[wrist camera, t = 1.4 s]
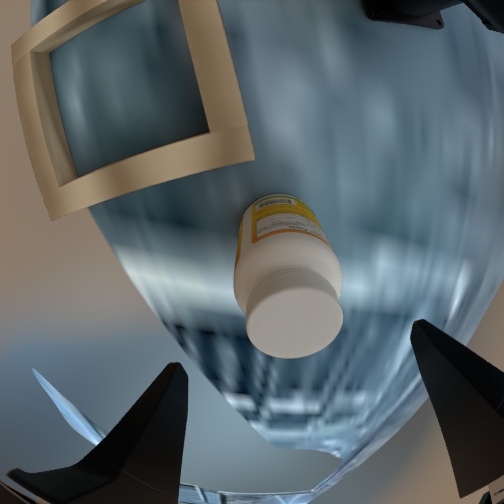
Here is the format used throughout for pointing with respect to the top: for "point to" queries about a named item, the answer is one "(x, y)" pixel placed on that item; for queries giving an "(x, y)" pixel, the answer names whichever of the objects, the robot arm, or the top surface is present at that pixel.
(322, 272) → the supplement bottle
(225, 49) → the tan square frame
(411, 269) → the top surface
